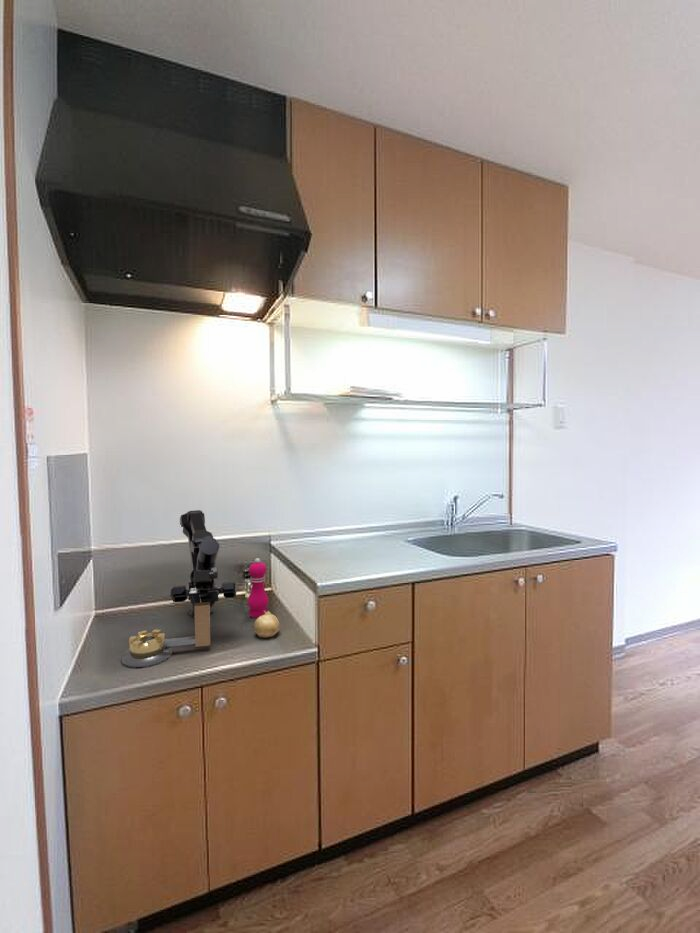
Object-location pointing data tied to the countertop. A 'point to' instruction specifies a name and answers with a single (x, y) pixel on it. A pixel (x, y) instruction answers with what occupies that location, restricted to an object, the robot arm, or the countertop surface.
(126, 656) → the flange
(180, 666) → the countertop surface
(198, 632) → the crank handle
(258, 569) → the pepper mill
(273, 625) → the onion
